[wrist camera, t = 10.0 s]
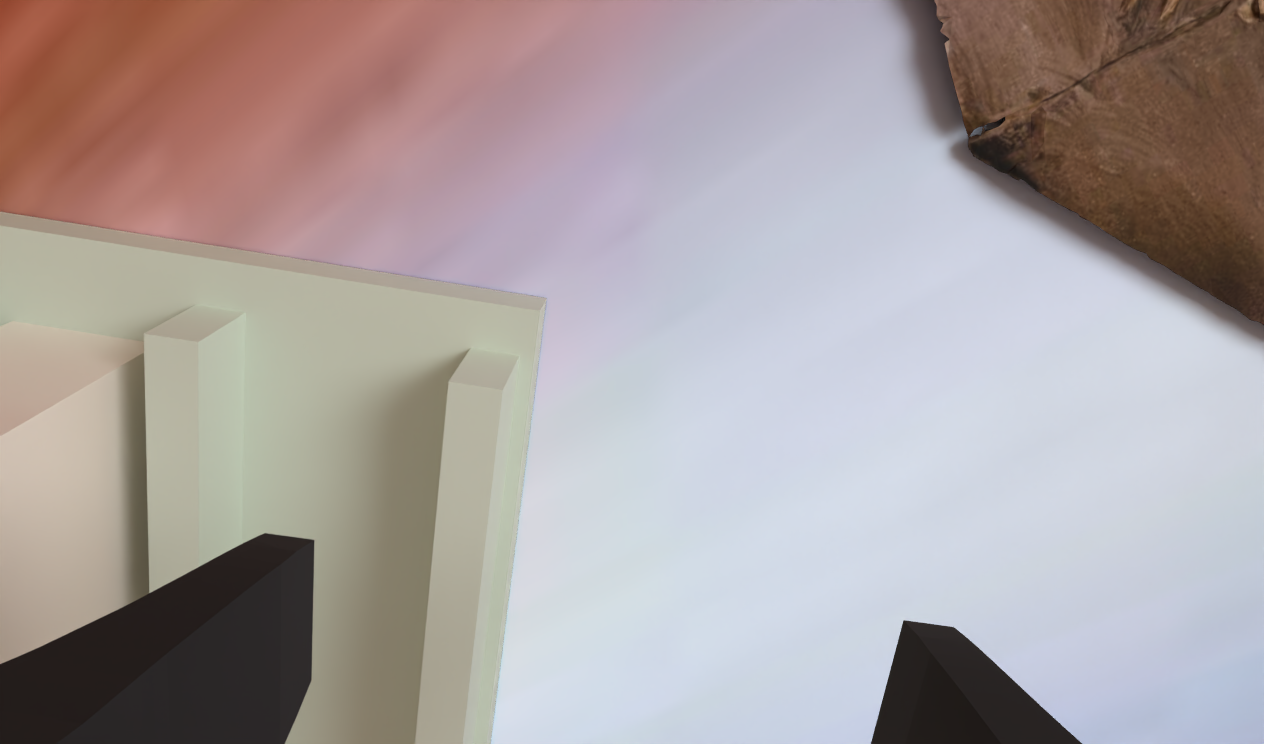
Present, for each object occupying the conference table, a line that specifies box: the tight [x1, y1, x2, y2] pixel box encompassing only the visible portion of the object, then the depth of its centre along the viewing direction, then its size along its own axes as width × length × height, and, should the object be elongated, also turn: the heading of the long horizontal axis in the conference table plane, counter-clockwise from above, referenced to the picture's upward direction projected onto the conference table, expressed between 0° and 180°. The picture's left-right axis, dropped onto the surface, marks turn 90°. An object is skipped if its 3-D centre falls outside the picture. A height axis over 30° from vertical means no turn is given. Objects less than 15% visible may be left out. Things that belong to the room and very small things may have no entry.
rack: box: [0, 212, 546, 744], centre depth 21 cm, size 14×18×3 cm
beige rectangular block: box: [0, 321, 149, 664], centre depth 18 cm, size 10×3×6 cm, turn 171°
